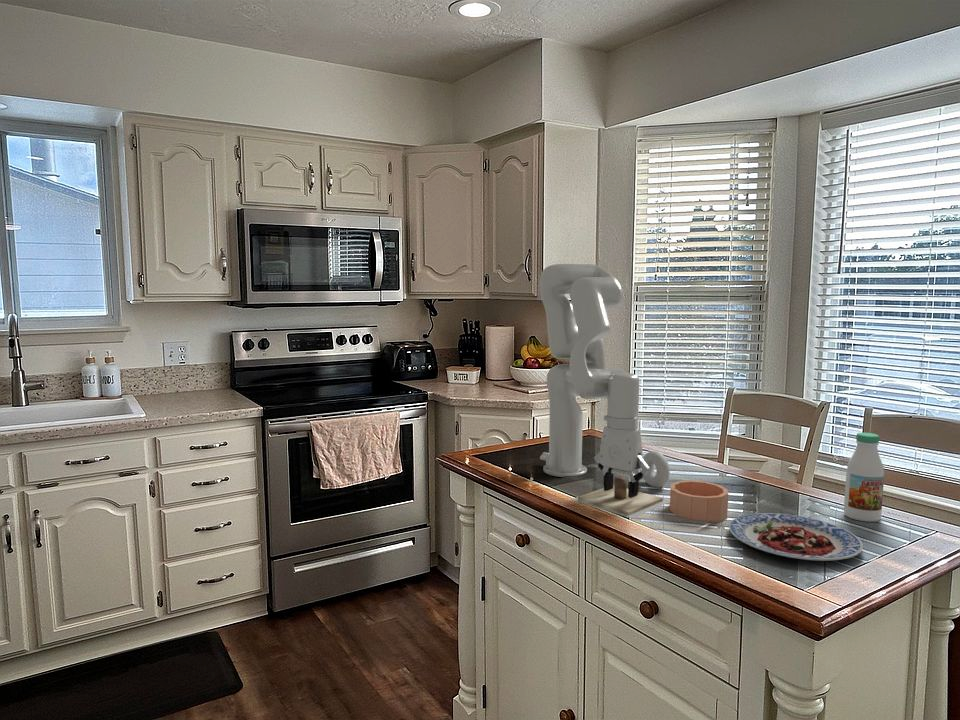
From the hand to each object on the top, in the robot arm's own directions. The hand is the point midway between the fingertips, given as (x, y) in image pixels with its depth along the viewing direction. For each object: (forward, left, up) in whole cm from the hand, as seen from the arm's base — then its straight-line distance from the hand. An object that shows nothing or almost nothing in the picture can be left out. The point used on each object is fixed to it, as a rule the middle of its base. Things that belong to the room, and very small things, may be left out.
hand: (620, 492), depth 166 cm
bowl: (+17, +8, -3) cm, 19 cm away
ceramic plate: (+40, +6, -3) cm, 41 cm away
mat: (0, 0, -3) cm, 3 cm away
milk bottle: (+45, +34, -3) cm, 56 cm away
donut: (-1, +18, -3) cm, 18 cm away
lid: (0, 0, -2) cm, 2 cm away
